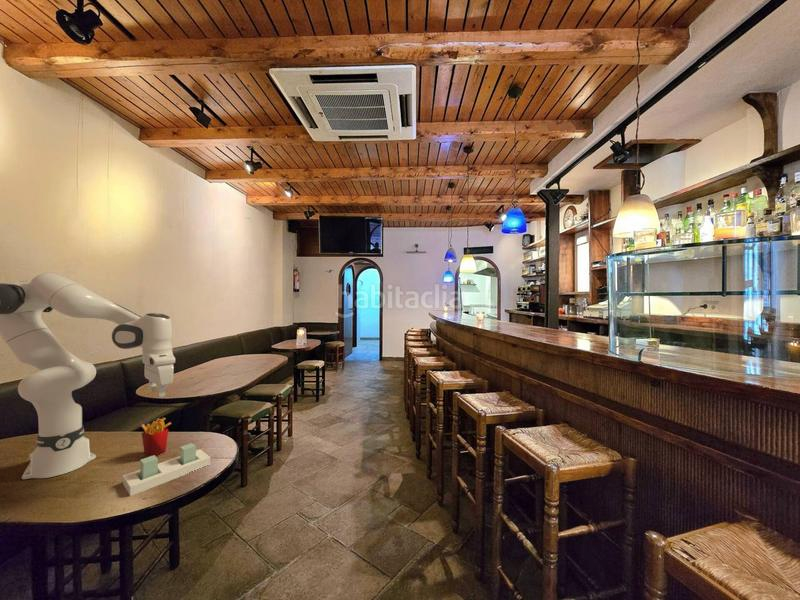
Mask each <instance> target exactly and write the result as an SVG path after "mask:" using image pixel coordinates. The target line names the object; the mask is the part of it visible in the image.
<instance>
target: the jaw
mask: <svg viewBox="0 0 800 600" xmlns="http://www.w3.org/2000/svg"><path fill="white" fill-rule="evenodd" d="M158 461H159V459H158V456H157V457H156V456H155V455H153V456H150V457H145V458H142V459H140V461H139V465H140V466H139V467H140V468H139V470H140V480H143V479H146V478H148V477H151V476H154V475H157V474H158V464H159V462H158Z"/></svg>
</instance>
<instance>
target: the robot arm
mask: <svg viewBox="0 0 800 600" xmlns="http://www.w3.org/2000/svg"><path fill="white" fill-rule="evenodd" d="M53 310H54V311H57V312H58V313H60V314H62V315H65V316H69V317H71V318H77V319H78V318H79V319H96V320H97V319H99V320H105V321H110V322H113V323H114V324H117V326H115V327H114V328H113V331H112V333H111V341H112V343H113V344H114V345H115V346H116V347H117V348H119V349H122V350H123V349H124V350H130V349H136V348H141V349H142V357H141V358H142V362H141V363H142V364H143V365H144V370H143V371H144V372H143V373H144V378H145V379H147V380H148V384H149V386H150V387H149V389H150V392H153V393H154V392H157V391H158V392H157V393H158V395H157V396H158V397H160V398H162V397H165V396H166V392H167V388H168V386H171V385H173V380H174V369H175V367H174V364H175V363H176V357H175V355H174V352H173V345H172V339H173V323H172V322H173V321H172V320H171V317H170V316H169V315H167V314H165V313H156V312H151V313H145V314H144V315H143V316H141V315H139V314H137V313H135V312H134V311H131V310H130V309H127V308H126V307H124V306H123V305H120V304H117V303H115V302H113V301H111V300H109V299H107V298H105V297H103V296H101V295H100V294H97V293H96V292H94V291H92V290H90V289H89V288H87V287H85V286H83V285H81V284H80V283H78V282H76V281H74V280H72V279H70V278H68V277H65V276H63V275H61V274H58V273H54V272H45V273H41V274H37V276H35V277H34V278H32V279H31V280H19V281H14V282H5V283H4V282H3V283H1V282H0V336H1V337H2V339H3V340H4V343H6V345H7V346H8V348H9V349H10V351H11V352H12V353H13V354H14V356H15V357H16V358H17V359H18V361H20V362H21V363H23V364H26V365H30V366H32V367H34V368H36V369H37V371H35V372H32V373H31V374H29V375H27V376H26V377H24V378H23V379H22V380H21V381H20V382H19V383H18V385H17V392H18V394H19V396H20V397H21V399H23V400H24V401H28V402H30V403H31V404H32V405H33V407H34V408H35V411H36V413H37V417H38V418H37V420H38V423H37V424H38V435H36V439H35V440H36V448H35V449H34V450H33V451H32V452H30V453H29V454H28V461H30V462H29V464H28V465H27V467H26V468H25V470H24V472H23V474H22V476H21V479H22V480H28V479H30V480H31V479H48V478H52V477H56V476H61V475H65V474H67V473H70V472H73V471H75V470H78V469H79V468H81V467H83V466H85V465H86V464H87V463H89V462H91V461H92V460H94V459H96V458H97V455H96V454H95V453H93V452H91V450H90V439H89V438H87V437H85V436H84V435H85V433H84V432H85V428H84V425H83V407H82V406H81V404H79V403H78V402H77V403H76V402H75V400H74V398H73V395H72V394H73V391H75V390H78V389H81V388H83V387H85V386H86V385H88V384H90V383H91V382H92V381H93V380H94V379H95V377H96V374H97V369H96V367H95V365H93V364H92V362H89V361H87V360H86V361H85V360H83V359H81V358H79V357H77V356H76V355H75V354H73V353H72V352H70V351H69V350H68V349H67V348H65V347H64V346H63V345H62V343H60V341H59V340H58V338H57V337H56V336H55V335H54V334H53V332H52V331H51V330H50V328H49V327H48V325H47V324H46V323H45V321H44V320H43V318H42V313H51V312H52V311H53Z"/></svg>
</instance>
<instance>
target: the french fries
mask: <svg viewBox="0 0 800 600" xmlns="http://www.w3.org/2000/svg"><path fill="white" fill-rule="evenodd" d="M165 420H166V417H162V418H157V419H156V420H155V421H152V423H146V425H145V424H144V423H143V424H141V425H140V426H141V427H142V429H143V430H144V431H143V432H141V438H142V445H143V451H144V457H146V456H148V457H150V456H153V455H155V456H157V457H159V456H158V455H160V454H162V453H164V452H165V453H166V452H167V451H166V450H167V443H168V436H169V429H168V426H170V425H172V422H171V421H170V422H168V423H166V424H165ZM165 453H164V454H165ZM162 455H163V454H162ZM160 456H161V455H160Z"/></svg>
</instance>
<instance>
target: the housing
mask: <svg viewBox="0 0 800 600" xmlns="http://www.w3.org/2000/svg"><path fill="white" fill-rule="evenodd" d="M207 465H209V466H211V456H209V455H208V454H207V453H206V452H205V451H204V450H202V449H200V448H199V449H197V445H195V444H194V443H193V442H190V443H188V444H185V445H182V446H180V447H179V456H176V457H174V458H171V459H167V460H165V461H163V462H158V474H157V475H154V476H151V477H148V478H146V479H143V480H140V469H138V470H136V471H135V470H134V472H133V471H132V472H130V473H127V474H123V475H122V485H123V487H124V488H125V490H126V492H127V493H128V494H129V496H130V497H131V496H134V495H136V494H139V493H142V492H144V491H146V490H149V489H151V488H155V487H158V486H160V485H163V484H165V483H168V482H170V481H172V480H176V479H178V478H181V477H182V476H183V477H184V476H186V475H188V474H190V473H189V472H191V471H193V472H195V471H194V470H196V471H198V470H197V469H199V468H201V469H203V468H202V467H204V466H206V467H208V466H207ZM204 468H205V467H204ZM199 470H200V469H199ZM187 473H188V474H187ZM191 473H192V472H191ZM185 474H186V475H185ZM180 476H181V477H180Z"/></svg>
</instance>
